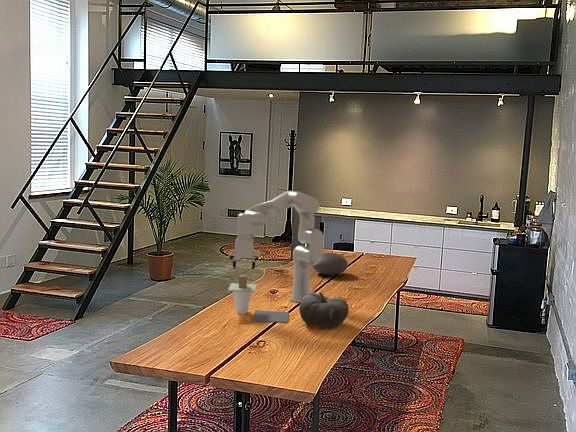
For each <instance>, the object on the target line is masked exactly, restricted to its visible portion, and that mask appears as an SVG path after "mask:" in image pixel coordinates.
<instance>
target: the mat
mask: <svg viewBox="0 0 576 432" xmlns="http://www.w3.org/2000/svg"><path fill="white" fill-rule="evenodd" d="M253 313H254V314H253V318H252V320H251V321H252V322H261V323H262V322H263V323H277V324H278V323H281V324H288V323H289V322H288V321H289V315H290V314H289V311H276V310H273V311H272V310H254V312H253Z"/></svg>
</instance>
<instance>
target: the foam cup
mask: <svg viewBox="0 0 576 432" xmlns="http://www.w3.org/2000/svg"><path fill="white" fill-rule="evenodd" d="M232 292H233V297H234V298H233V300H234V309H235V314H240V315H244V314H248V313H249V312H248V311H249V307H250V302H251V301H250V300H251V296H252V295H251V294H252V292H237V291H232Z"/></svg>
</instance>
